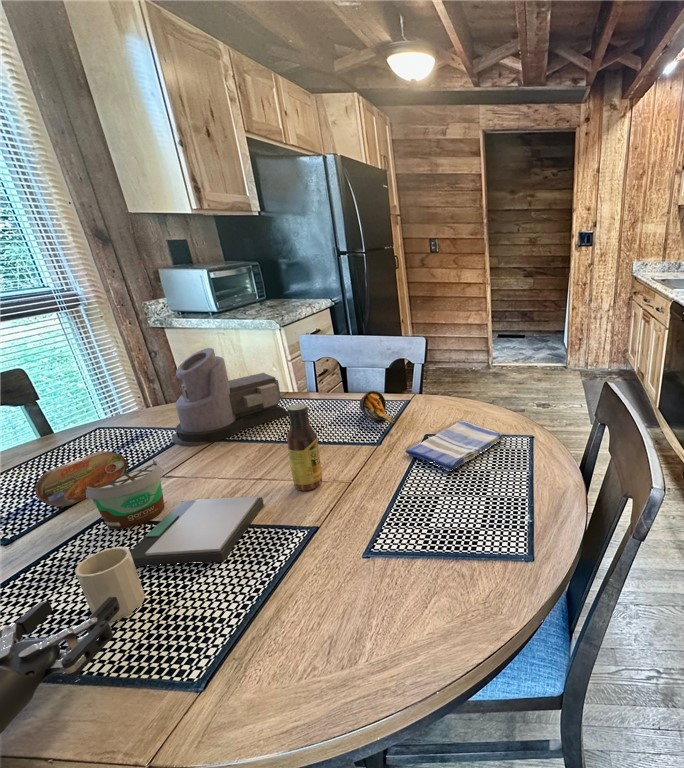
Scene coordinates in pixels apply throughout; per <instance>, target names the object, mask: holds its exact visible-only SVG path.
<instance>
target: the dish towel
mask: <svg viewBox="0 0 684 768" xmlns="http://www.w3.org/2000/svg"><path fill="white" fill-rule="evenodd" d="M504 439H505V438H504V437H503V433H501V432H497V431H495V430H492V429H488V428H486V427H484V426H479V425H476V424H473V423H472V422H468V421H465V420H460V421H457V422H455V423H454V424H453V425H451V426H450V427H447V428H446V429H443V430H442V431H440V432H438V433H436V434H435V435H433V436H431V437H429V438H427V439H424V440H423V441H422V442H420V443H418V444H415V445H414V446H412V447H409V448H407V449H406V450H405V453H406V454H407V455H409V456H412V457H413V456H414V457H413V458H416V457H417V459H418V458H420V459H422V460H426V461H428V462H433V461H435V462H433V464H436V465H438V466H440V467H443V468H445V469H448V470H452V469H455V468H456V467H458V468H459V467H461V466H462V465H464V464H466V463H468V462H470V461H471V460H473V459H475V458H476V457H478V456H479V455H478V454H480V452H482V451H483V450H485V449H486V448H488V447H490V446H491V445H493V444H495V443H496V442H499V441H500V442H502V441H503V440H504ZM500 442H499V443H500ZM477 455H478V456H477ZM475 456H476V457H475ZM420 459H419V460H420ZM422 460H421V461H422ZM469 460H470V461H469ZM467 461H468V462H467ZM465 462H466V463H465ZM460 465H461V466H460ZM456 469H457V468H456ZM456 469H455V470H456Z"/></svg>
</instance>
